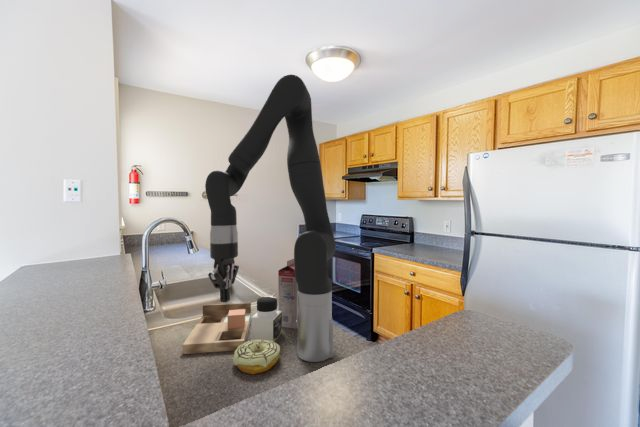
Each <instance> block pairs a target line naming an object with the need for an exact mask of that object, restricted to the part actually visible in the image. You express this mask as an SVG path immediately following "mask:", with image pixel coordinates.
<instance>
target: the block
mask: <svg viewBox="0 0 640 427" xmlns="http://www.w3.org/2000/svg"><path fill="white" fill-rule="evenodd" d="M244 327H245V309H238V310H229V313H228V329H233V328H244Z"/></svg>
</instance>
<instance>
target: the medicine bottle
mask: <svg viewBox="0 0 640 427" xmlns="http://www.w3.org/2000/svg"><path fill="white" fill-rule="evenodd" d="M250 327H251V328H250V331H251V333H250V336H251V337H250V339H251V340H258V339H262V340H270V341H274V342H275V343H276V340H278V338H279V337H280V336H281V334H282V332H283V330H282V328H283V327H282V311H278V306H277V299H276V298H275V297H272V295H266V296H261V297H259V298H257V300H256V312H255V314H253V315H252V316H251V321H250ZM251 340H250V341H251Z"/></svg>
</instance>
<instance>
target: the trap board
mask: <svg viewBox="0 0 640 427" xmlns="http://www.w3.org/2000/svg"><path fill="white" fill-rule="evenodd" d="M238 309H245V327H244V328H233V329H228V313H229V310H238ZM251 318H252V302H233V303H232V302H230V303H228V302H226V303H211V304H207V303H206V304H205V303H204V304H202V316H201V317H200V319H199V320H198V322H197V323H196V325H195V326H194V328H193V329H192V331H191V332H190V333H189V335H188V336H187V338H186V339H185V341H184V342H183V343H182V354H183V355H187V354H188V355H189V354H200V353H201V354H202V353H203V354H204V353H216V352H217V353H219V352H228V351H232V352H233V351H235V350H236V349H237V348H238V347H239V346H240V345H241V344H243V343H245V342H247V339H248V333H249V329H250V327H251Z"/></svg>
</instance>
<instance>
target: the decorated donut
mask: <svg viewBox="0 0 640 427" xmlns="http://www.w3.org/2000/svg"><path fill="white" fill-rule="evenodd" d="M233 354H234V355H233V358H232V363H233V365H234V366H236V367H237V368H238V370H239V371H241V372H242V373H245V374H249V375H255V374H261V373H265V372H267V371H269V370H270V369H272V367H273V366H275V365H276V364H277V363H278V361H279V358H280V355H281V347H280V345H279V344H278V343H277V342H276V341H275V342H274V341H270V340H262V339H258V340H248V341H246V342H245V343H243V344H241V345H240V346H239V347H238V348H237V349H236V350H234V353H233Z"/></svg>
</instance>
